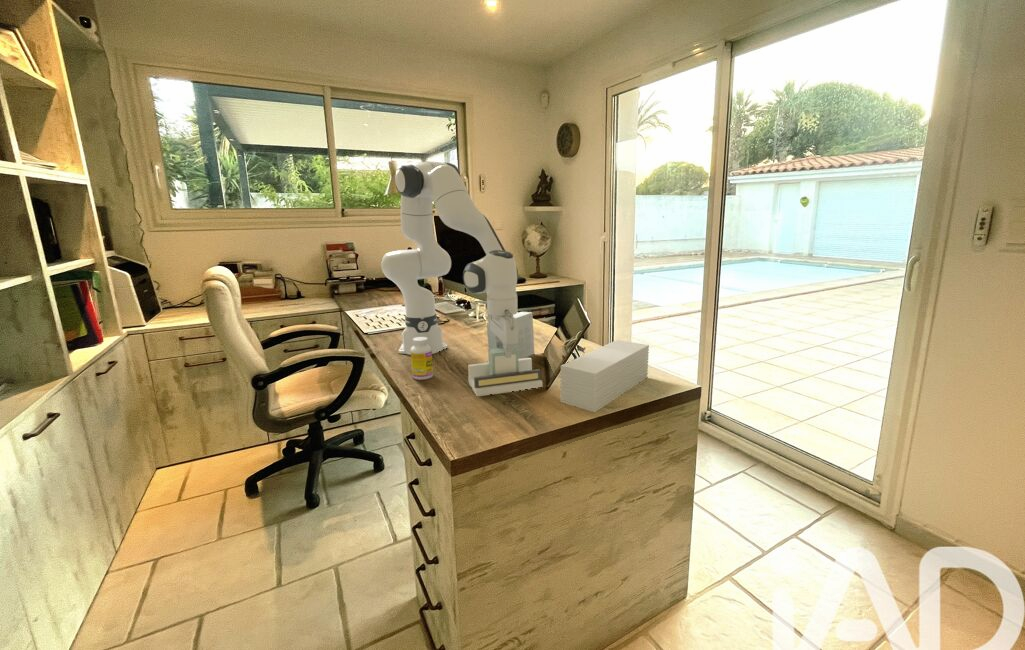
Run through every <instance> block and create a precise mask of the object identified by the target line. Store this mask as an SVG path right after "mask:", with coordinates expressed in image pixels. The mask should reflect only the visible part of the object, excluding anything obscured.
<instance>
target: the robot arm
mask: <svg viewBox="0 0 1025 650" xmlns="http://www.w3.org/2000/svg"><path fill="white" fill-rule="evenodd" d="M394 172H395V173H394V185H395V189H396V190H397V192H398V193H399V194H400V195H401V196H400V231H401V234H402V235H403V237H404V238H406V239H407V240H409V241H412V242H414V243H416V245H417V248H415V249H398V250H393V251H389V252H387V253H385V254H384V255H383V256H382V259H381V262H380V263H381V264H380V266H381V267H380V268H381V271H382V273H383V274H384V276H385V277H386V278H387V279H388V280H390V281H392V282H393V283H394V284H395V285H396V286H397V287H398V289H399V290H400V292H401V294H402V296H403V302H404V307H405V309H404V310H405V316H404V322H405V328H404V329H403V331H402V333H400V334H401V335H400V336H401V339H402V341H401V343H402V344H401V345H400V347H399V349H398V354H403V355H404V354H405V355H408V356H409V355H410V356H411V351H410V350H411V348H412V347H413V346H414V344H413V339H414V338H416V337H427V338H428V343H427V344H428V345H429V346H430V347H431V349H432V355H433V354H436V353H437V354H438V353H439V351H440V352H441V351H443V349H444V350H446V348H447V349H448V348H449V347H448V344H446V343H444V341H443V331H442V328H441V326H439V325H438V316H437V313H436V302H435V295H434V293H433V292H432V291H431V290H429V289H427V288H425V287H423V286H420V285H419V283H418V280H421V279H433V278H438V277H442V276H445V275H447V274H449V272H450V270H451V268H452V259H451V256H450V255H449V253H448V251H446V250H445V249H444V248H442V247H441V245H440V244H439V243H438V242H437V240H436V236H435V234H434V224H433V223H434V221H433V203H434V207H435V209H436V212H437V215H438V217H439V218H440V220H441V222H442V223H443V224H444V225H445V226H447V227H448V228H450V229H453V230H455V231H459V232H463V233H465V234H467V235H469V236H471V237H474V238H475V239H476V240H477V241H478V242H479V244H480V246H481V247H482V249H483V251H484V253H485V256H483V257H481V258H480V259H478V260H476V261H472V262H469V263H467V264H466V265H465V266H464V269H463V272H462V281H463V285H464V287H465V289H467V291H469V292H470V293H471V294H483V293H486V301H485V309H486V311H487V312H486V313H487V321H488V322H487V323H489V328H490V330H491V331H492V332H493V333H494V337H495V341H496V347H497V348H503V343H504V344H505V351H504V356H505V357H506V358H510V357H511V352H512V348H513V346H516V345H518V341H519V339H518V325H517V320H516V319H515V318H514V317H513V315H514V314H516V313H519V312H518V293H517V284H518V279H519V270H518V267H517V263H516V259H515V256H514V254H513V253H511V252H510V251H507V250H506V249H505V247H504V246H503V244H502V242H501V240H500V239H499V237H498V235H497V233H496V231H495V229H494V228H493V226H492V224H491V222H490V221H489V219H488V218H487V217H486V216H485V215H484V214H483V213H482V212H481V211H480V210H479V208H478V207H477V206H476V205H475V203H474V201H473V200H472V198H471V196H470V194H469V191H468V189H467V187H466V185H465V183H464V180H463V179H462V175H461V173H460V170H459V168H458V167H457V165H455V164H453V163H451V162H447V161H444V162H439V161H424V162H423V161H422V162H421V161H420V162H413V163H412V162H407V163H406V162H405V163H401V164H399V165H398V166H397V168H396V169H395V171H394ZM502 342H503V343H502Z"/></svg>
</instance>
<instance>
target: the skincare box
mask: <svg viewBox="0 0 1025 650" xmlns="http://www.w3.org/2000/svg"><path fill="white" fill-rule="evenodd" d="M533 314H534V313H533V312H531V311H529V312H528V311H520V312H517V313H516V314H514V315H513V317H514V318H515V319H516V320H517V325H518V339H519V341H518V345H516V346H513V347H515V348H516V349H517V350H518V359H523V358H530V357H531V356H533V355H535V342H534V341H535V339H534V337H535V336H534V335H535V334H534V319H533V318H534V317H533ZM486 333H487V343H488V344H487V345H488V349H497V347H496V341H495V337H494V333H493V332H492V331H491V330H490V328H489V322H486ZM502 343H503V342H502ZM503 348H505V344H504V343H503Z"/></svg>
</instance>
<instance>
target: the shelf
mask: <svg viewBox="0 0 1025 650" xmlns="http://www.w3.org/2000/svg"><path fill="white" fill-rule="evenodd" d="M532 360H533V359H532V358H531V357H527V358H523V359H518V368H519V372H511V373H503V374H495V375H489V361H488V362H482V363H472V364H467V366H468V367H467V368H468V376H467V378H468V380H467V381H468V384H469V386H470V387H472V388H471V389H472V391H473V392H474V394H476V395H475V396H476V397H484V396H490V394H492V395H498V394H505V393H511V392H512V391H514V392H519V390H521V391H526V390H525V389H528V390H532V389H531V388H536V389H539V388H538V387H542V388H543V380H542V370H541V369H540V368H538V369H537V368H536V369H533V361H532ZM512 393H513V392H512Z"/></svg>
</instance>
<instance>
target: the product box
mask: <svg viewBox="0 0 1025 650" xmlns="http://www.w3.org/2000/svg"><path fill="white" fill-rule="evenodd" d="M504 351H505V348H497V349H489V348H488V351H487V353H488V362H489V375H495V374H503V373H511V372H519V368H518V350H517V349H516V348H515V347H513V348H512V352H511V357H510V358H506V357H505V356H504Z"/></svg>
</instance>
